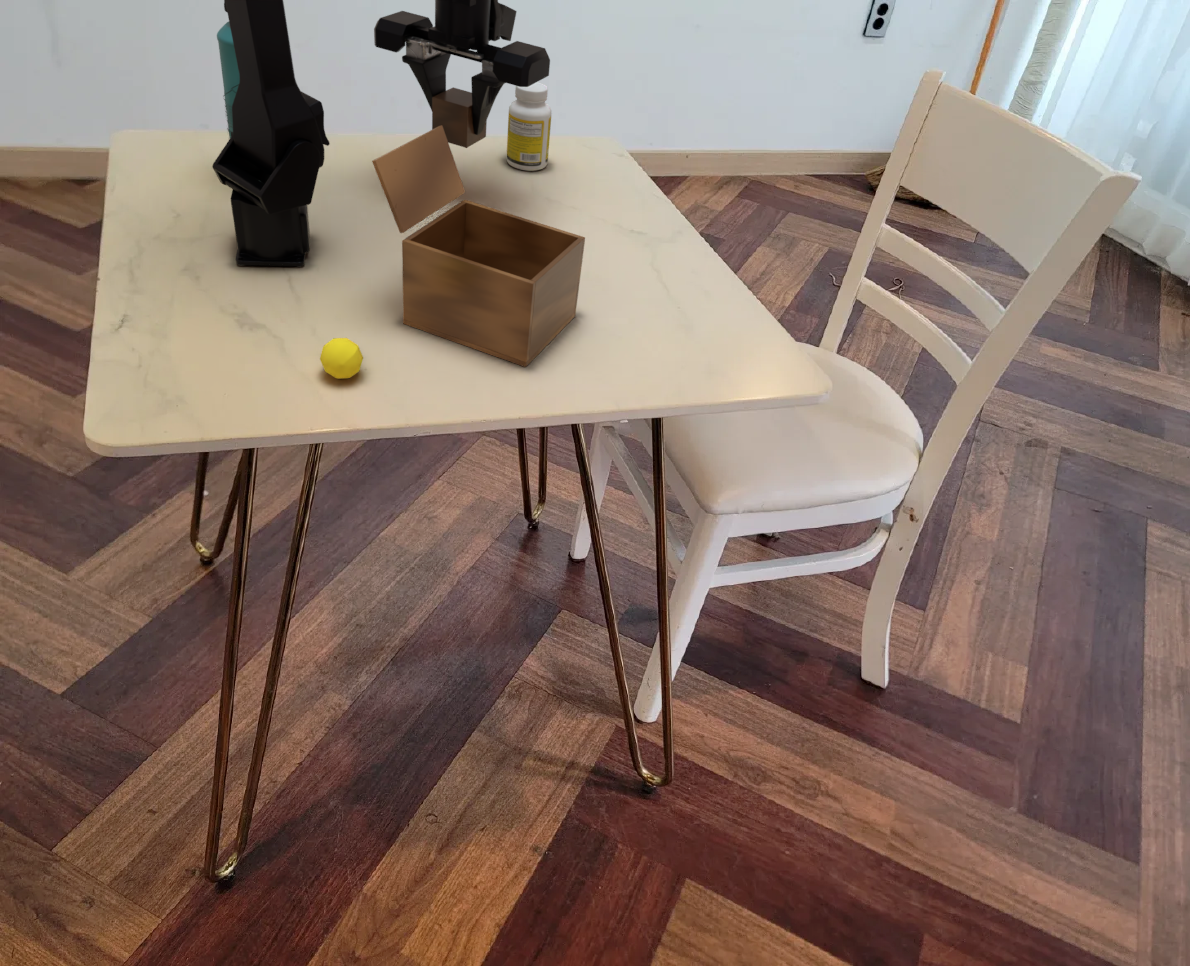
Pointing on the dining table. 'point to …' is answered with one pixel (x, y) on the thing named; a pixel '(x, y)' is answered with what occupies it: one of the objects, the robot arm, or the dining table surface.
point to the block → (455, 117)
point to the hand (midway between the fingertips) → (459, 128)
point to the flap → (419, 178)
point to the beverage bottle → (228, 70)
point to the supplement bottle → (529, 128)
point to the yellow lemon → (341, 358)
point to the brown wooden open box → (491, 280)
